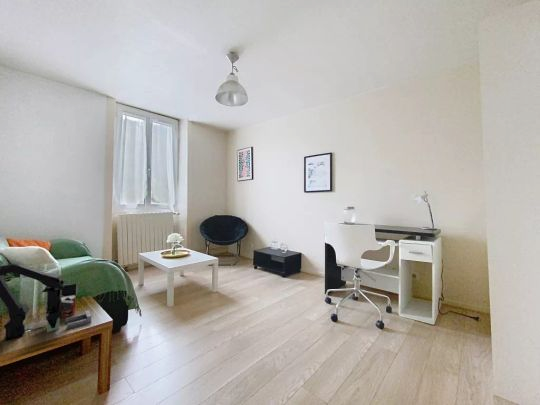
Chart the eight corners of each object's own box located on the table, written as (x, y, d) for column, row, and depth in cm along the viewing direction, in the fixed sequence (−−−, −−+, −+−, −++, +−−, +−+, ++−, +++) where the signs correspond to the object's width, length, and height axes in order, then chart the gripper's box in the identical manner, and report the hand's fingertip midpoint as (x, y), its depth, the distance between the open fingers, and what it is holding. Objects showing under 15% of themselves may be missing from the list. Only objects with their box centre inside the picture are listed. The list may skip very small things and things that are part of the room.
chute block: (47, 332, 130) (47, 319, 130) (46, 328, 133) (47, 316, 133) (59, 328, 133) (59, 316, 133) (58, 325, 137) (59, 313, 137)
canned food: (56, 319, 144) (56, 301, 144) (62, 313, 151) (62, 296, 151) (72, 317, 147) (72, 299, 147) (77, 311, 154) (77, 294, 154)
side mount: (66, 329, 133) (67, 322, 133) (65, 322, 140) (65, 315, 140) (91, 322, 141) (91, 315, 141) (88, 316, 148) (88, 310, 148)
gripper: (73, 299, 132) (73, 327, 132) (70, 290, 146) (70, 315, 146) (46, 305, 125) (46, 334, 125) (45, 294, 138) (45, 321, 138)
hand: (53, 325), depth 133 cm, fingers open, 6 cm apart
